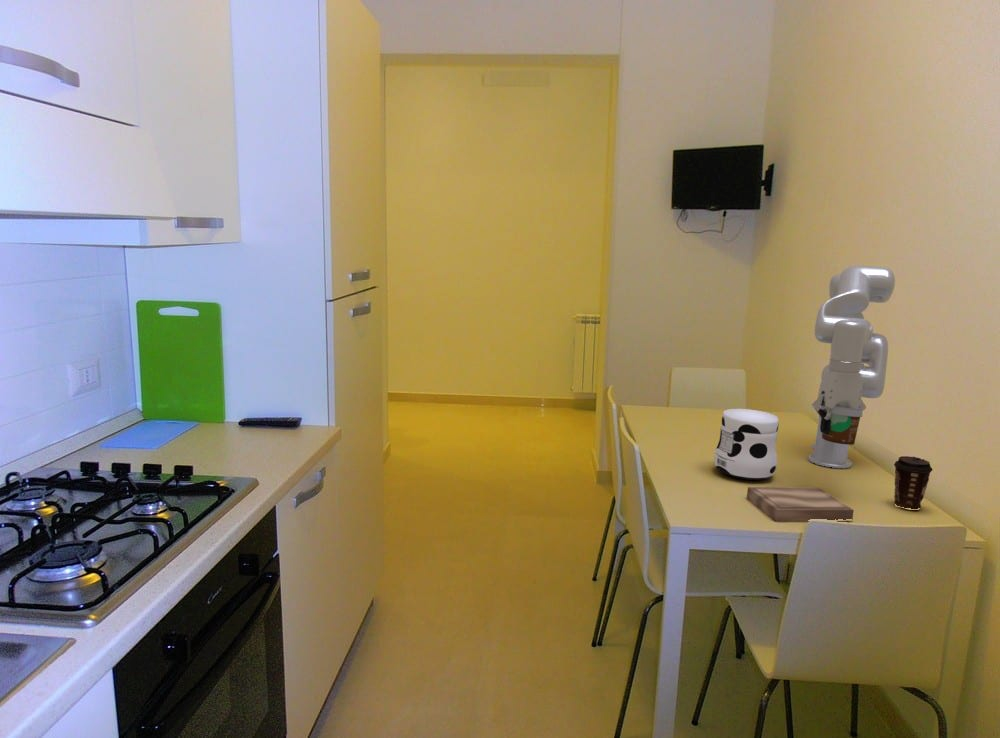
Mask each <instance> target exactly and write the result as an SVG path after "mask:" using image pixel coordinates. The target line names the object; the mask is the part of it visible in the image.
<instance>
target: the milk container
mask: <svg viewBox="0 0 1000 738" xmlns="http://www.w3.org/2000/svg"><path fill="white" fill-rule="evenodd" d="M778 431H779V417H778V416H776V415H775V414H773V413H769V412H767V411H761V410H758V409H757V410H756V409H755V410H754V409H750V408H748V409H747V408H728V409H726V410H723V413H722V418H721V424H720V432H719V433H720V435H719V440H718V443H717V445H716V448H715V452H714V465H715V467H716V469H717V470H718V471H719V472H721V473H722V474H724V475H727V476H729V477H733V478H736V479H741V480H750V481H759V480H761V481H762V480H767V479H770V478H772V476H774V474H775V473H776V469H777V465H778V456H777V450H776V449H777V448H776V447H777V446H776V445H777V438H778Z"/></svg>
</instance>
